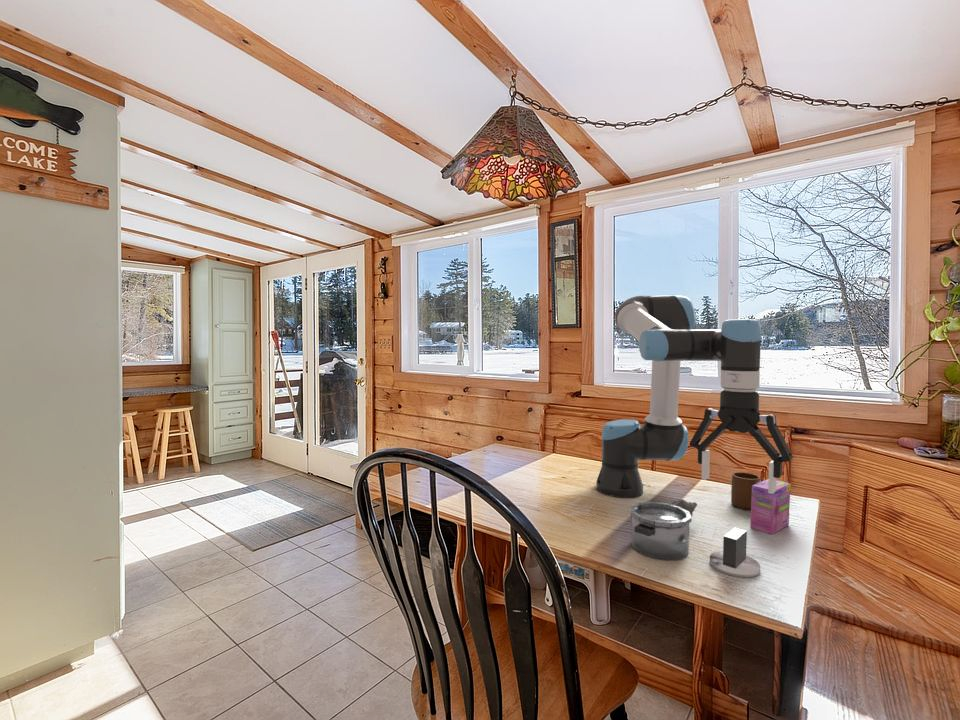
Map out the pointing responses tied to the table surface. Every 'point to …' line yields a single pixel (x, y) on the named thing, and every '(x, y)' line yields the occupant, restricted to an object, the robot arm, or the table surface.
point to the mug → (743, 489)
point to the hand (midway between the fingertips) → (737, 485)
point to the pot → (660, 530)
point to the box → (770, 507)
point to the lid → (735, 556)
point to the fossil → (684, 505)
